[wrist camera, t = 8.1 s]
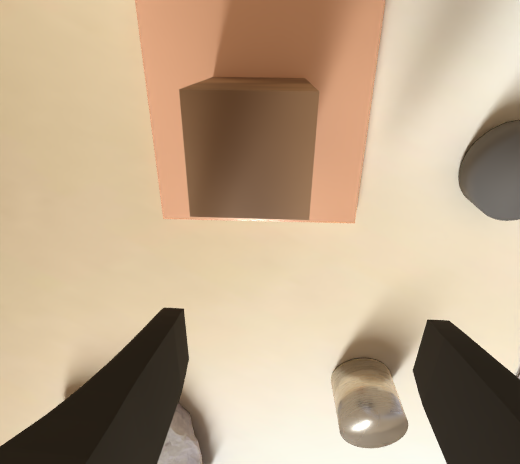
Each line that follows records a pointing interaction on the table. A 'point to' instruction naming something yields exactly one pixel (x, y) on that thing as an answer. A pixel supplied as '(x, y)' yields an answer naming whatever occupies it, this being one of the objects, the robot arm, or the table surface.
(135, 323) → the table surface
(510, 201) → the black rubber puck
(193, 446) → the stone block
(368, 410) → the brushed metal tin
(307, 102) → the walnut block
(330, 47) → the terracotta tile
